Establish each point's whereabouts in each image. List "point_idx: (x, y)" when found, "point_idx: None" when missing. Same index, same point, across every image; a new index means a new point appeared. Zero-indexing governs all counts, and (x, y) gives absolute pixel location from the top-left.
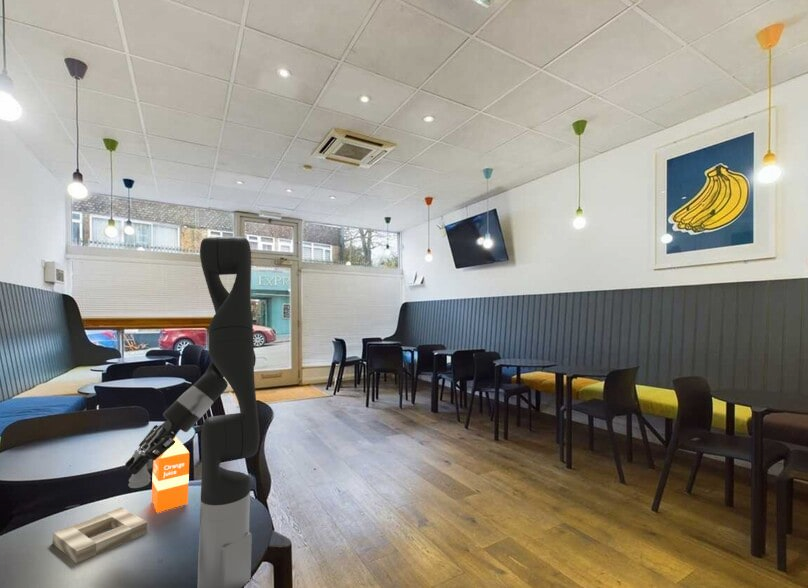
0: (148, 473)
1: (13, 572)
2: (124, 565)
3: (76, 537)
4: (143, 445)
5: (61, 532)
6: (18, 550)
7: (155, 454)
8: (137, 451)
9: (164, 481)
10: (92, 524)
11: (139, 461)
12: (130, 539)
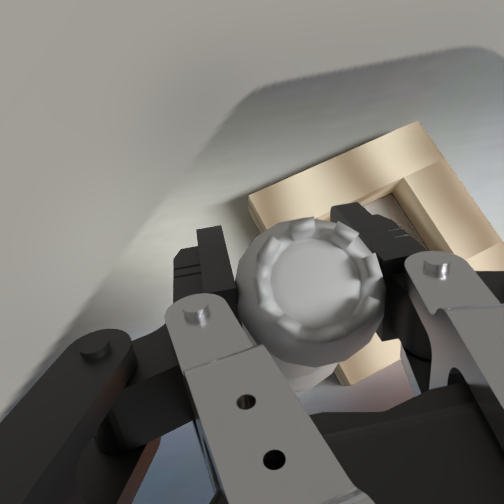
0: (299, 377)
1: (286, 90)
2: (152, 331)
3: (346, 181)
4: (426, 293)
5: (406, 140)
6: (404, 77)
7: (108, 444)
8: (353, 249)
9: None
10: (425, 212)
11: (174, 291)
12: None
